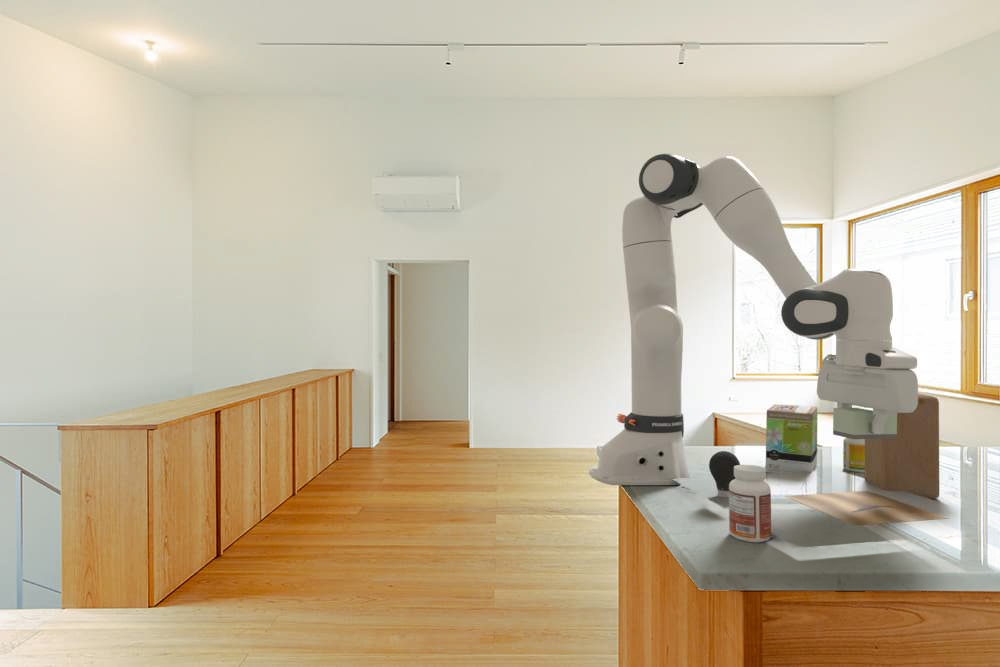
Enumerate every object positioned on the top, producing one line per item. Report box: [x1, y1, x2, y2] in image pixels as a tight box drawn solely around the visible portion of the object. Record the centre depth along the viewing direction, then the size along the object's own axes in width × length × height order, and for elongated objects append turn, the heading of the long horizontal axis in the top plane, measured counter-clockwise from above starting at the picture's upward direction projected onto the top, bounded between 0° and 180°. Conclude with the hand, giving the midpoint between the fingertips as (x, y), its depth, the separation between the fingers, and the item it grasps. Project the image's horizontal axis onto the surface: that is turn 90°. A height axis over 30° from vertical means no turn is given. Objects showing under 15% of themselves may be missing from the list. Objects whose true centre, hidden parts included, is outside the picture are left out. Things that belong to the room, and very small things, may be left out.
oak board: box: [785, 490, 950, 526], centre depth 103 cm, size 18×17×2 cm
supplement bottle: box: [842, 437, 865, 474], centre depth 136 cm, size 5×5×10 cm
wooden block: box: [864, 393, 940, 500], centre depth 117 cm, size 10×10×20 cm
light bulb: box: [708, 450, 741, 499], centre depth 110 cm, size 6×6×10 cm
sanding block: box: [832, 407, 897, 439], centre depth 107 cm, size 9×5×5 cm, turn 100°
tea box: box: [765, 403, 818, 474], centre depth 137 cm, size 15×10×15 cm
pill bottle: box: [728, 464, 772, 543], centre depth 92 cm, size 6×6×11 cm
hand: (861, 430), depth 107 cm, fingers closed on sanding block, 5 cm apart
